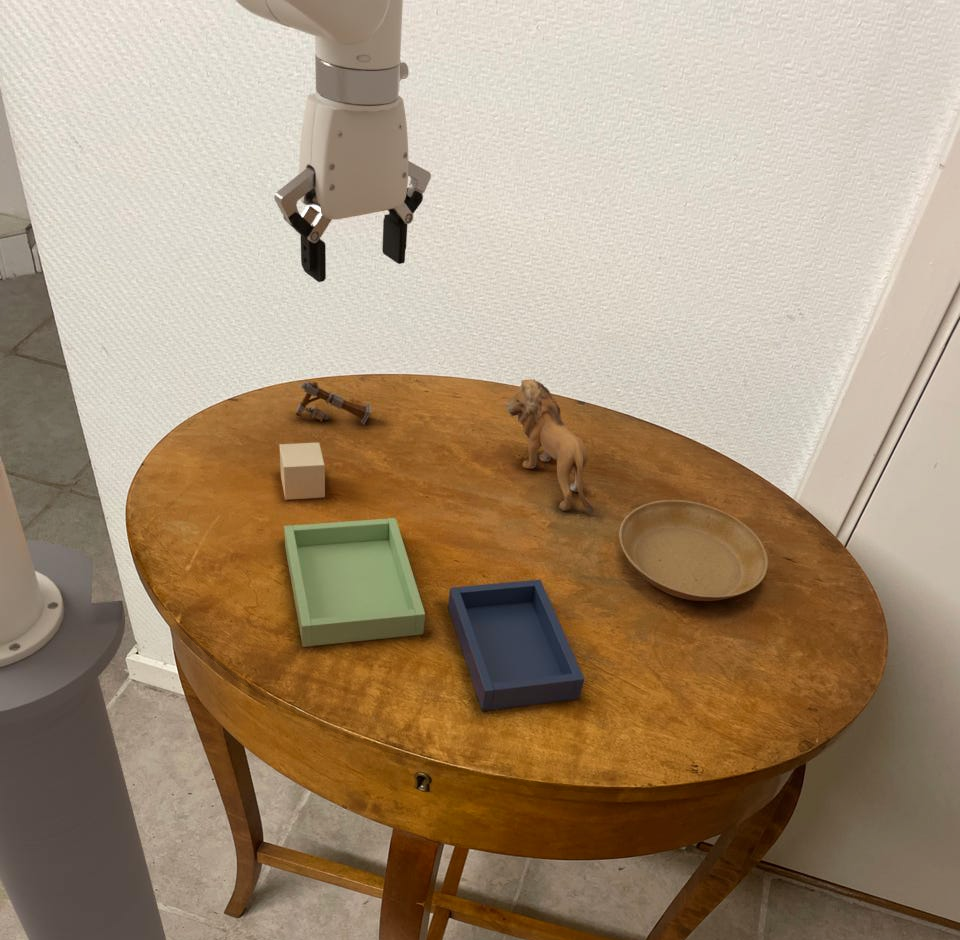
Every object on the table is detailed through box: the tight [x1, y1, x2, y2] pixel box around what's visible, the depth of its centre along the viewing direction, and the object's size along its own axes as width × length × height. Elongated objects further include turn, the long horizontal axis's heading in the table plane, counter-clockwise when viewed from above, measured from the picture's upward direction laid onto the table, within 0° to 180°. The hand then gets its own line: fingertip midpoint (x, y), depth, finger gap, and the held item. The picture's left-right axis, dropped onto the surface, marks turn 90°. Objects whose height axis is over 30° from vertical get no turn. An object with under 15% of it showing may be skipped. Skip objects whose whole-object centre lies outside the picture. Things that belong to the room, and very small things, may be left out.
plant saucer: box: [618, 499, 769, 602], centre depth 94 cm, size 15×15×3 cm
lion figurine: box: [504, 378, 596, 514], centre depth 100 cm, size 15×5×9 cm, turn 35°
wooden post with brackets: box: [295, 380, 372, 425], centre depth 105 cm, size 2×8×4 cm, turn 97°
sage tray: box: [283, 517, 426, 648], centre depth 86 cm, size 11×14×2 cm
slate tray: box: [447, 579, 585, 712], centre depth 83 cm, size 9×13×2 cm
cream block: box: [279, 442, 326, 501], centre depth 96 cm, size 4×4×4 cm
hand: (354, 267), depth 97 cm, fingers open, 9 cm apart
